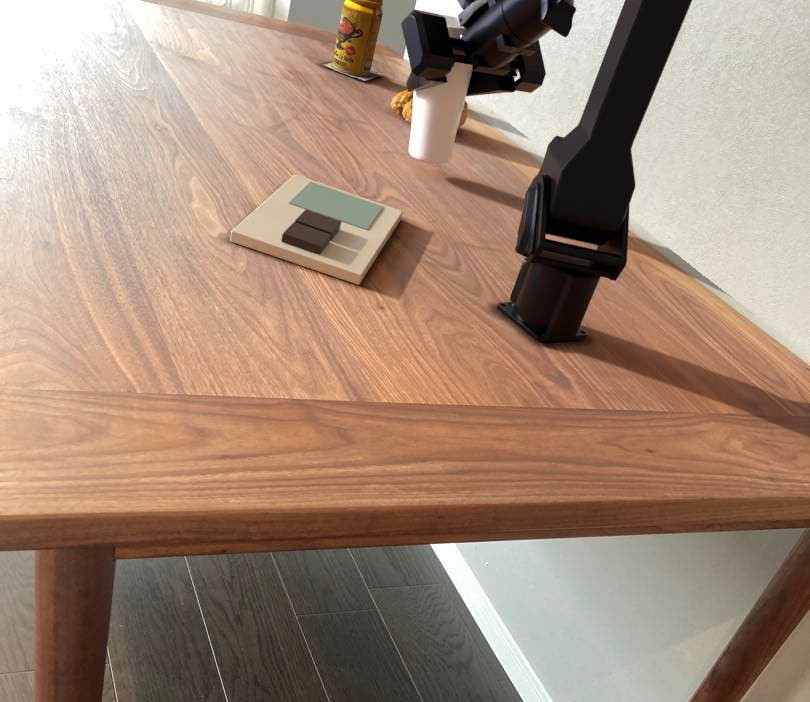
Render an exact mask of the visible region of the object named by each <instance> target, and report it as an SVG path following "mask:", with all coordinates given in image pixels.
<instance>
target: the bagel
mask: <svg viewBox="0 0 810 702" xmlns="http://www.w3.org/2000/svg"><path fill="white" fill-rule="evenodd" d="M413 94H414V91H413V92H408V90H407V89H405V90H402V91H400V92H399V93H398V94H396V95H395V96H394V97H393V98H392V100H391V103H390V104H391V108H392V110H393V111H394V112H395V113H396V114H397V115H398V116H400V117H403V119H404V120H405V121H406V122H407V123H409V124H411V122H412V108H413ZM468 105H469V104H468V102H467V101H466V100H465V102H464V106H463V110H462V114H461V117H460V121H459V125H458V129H457V130H459V129H460V128H461V127H462V126H464V124H465V123H466V121H467V119H468V113H469V107H468Z"/></svg>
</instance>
